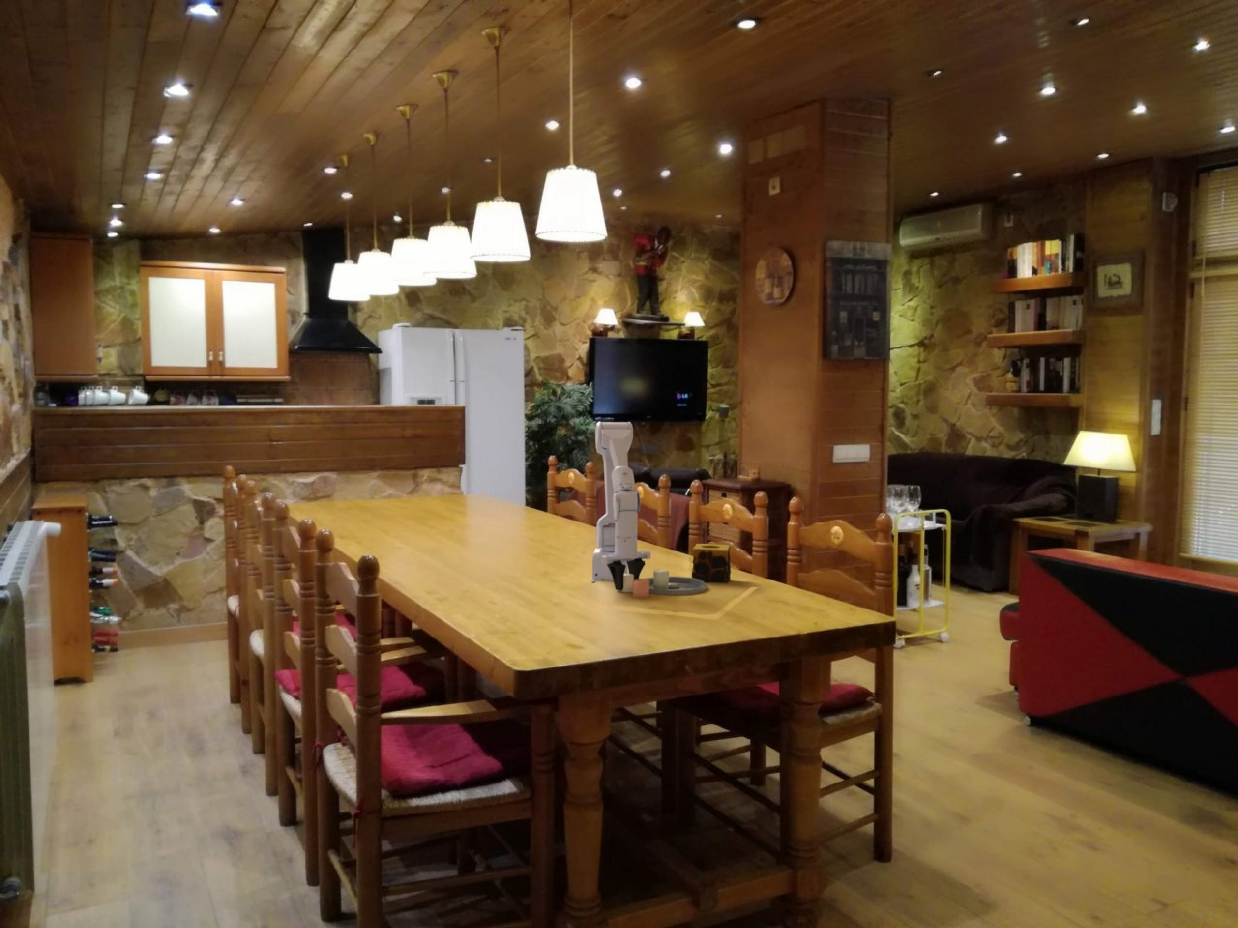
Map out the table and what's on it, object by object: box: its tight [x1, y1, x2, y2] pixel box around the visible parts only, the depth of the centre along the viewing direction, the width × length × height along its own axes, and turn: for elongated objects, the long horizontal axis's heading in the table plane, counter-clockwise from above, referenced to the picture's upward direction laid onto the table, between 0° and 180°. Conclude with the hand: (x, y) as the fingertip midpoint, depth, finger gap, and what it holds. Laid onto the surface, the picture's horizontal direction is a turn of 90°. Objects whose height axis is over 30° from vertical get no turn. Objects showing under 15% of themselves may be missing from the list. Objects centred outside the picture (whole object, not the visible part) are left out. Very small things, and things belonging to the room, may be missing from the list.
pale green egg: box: [652, 569, 670, 589], centre depth 246 cm, size 4×4×5 cm
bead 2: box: [632, 578, 650, 599], centre depth 239 cm, size 4×4×5 cm
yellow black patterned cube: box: [691, 543, 732, 584], centre depth 262 cm, size 10×10×10 cm
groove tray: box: [645, 576, 708, 596], centre depth 250 cm, size 18×18×2 cm
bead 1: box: [617, 573, 634, 593], centre depth 246 cm, size 4×4×5 cm
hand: (626, 588), depth 246 cm, fingers closed on bead 1, 4 cm apart
